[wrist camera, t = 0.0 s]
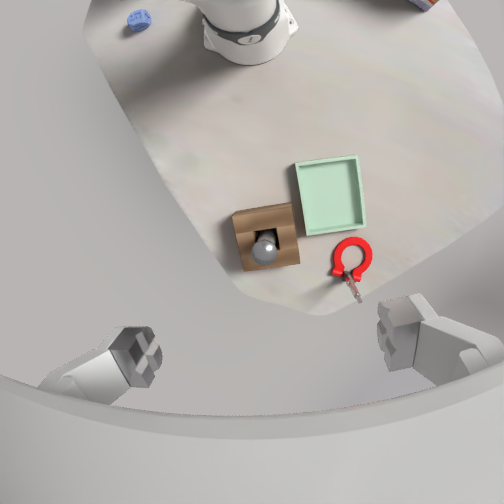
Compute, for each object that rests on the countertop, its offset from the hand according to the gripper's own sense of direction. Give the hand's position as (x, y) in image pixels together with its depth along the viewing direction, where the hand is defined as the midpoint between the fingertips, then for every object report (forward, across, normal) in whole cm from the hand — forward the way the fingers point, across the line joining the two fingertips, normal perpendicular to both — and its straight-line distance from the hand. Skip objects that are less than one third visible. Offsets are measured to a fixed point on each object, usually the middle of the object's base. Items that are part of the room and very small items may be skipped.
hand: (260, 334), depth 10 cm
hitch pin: (+48, +4, +10) cm, 49 cm away
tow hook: (+48, -12, +18) cm, 53 cm away
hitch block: (+48, +4, +10) cm, 49 cm away
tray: (+48, -9, +4) cm, 49 cm away
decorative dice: (+48, +22, -43) cm, 68 cm away
